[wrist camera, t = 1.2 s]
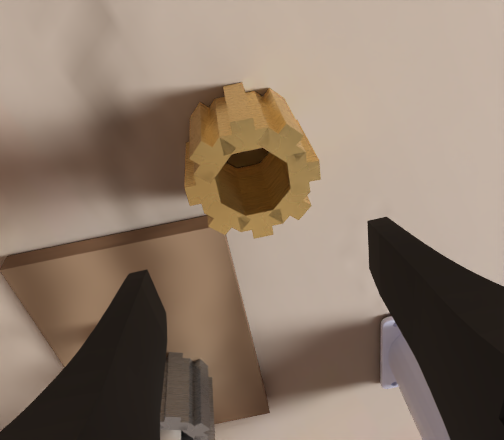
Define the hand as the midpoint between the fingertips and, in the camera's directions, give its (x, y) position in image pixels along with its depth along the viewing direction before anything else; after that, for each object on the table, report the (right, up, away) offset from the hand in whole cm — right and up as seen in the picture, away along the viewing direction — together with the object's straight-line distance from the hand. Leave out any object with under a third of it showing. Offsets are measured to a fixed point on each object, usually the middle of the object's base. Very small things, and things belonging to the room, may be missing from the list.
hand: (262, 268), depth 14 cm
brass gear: (-1, +6, +8) cm, 9 cm away
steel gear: (-6, -9, +15) cm, 19 cm away
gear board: (-7, -6, +15) cm, 18 cm away
